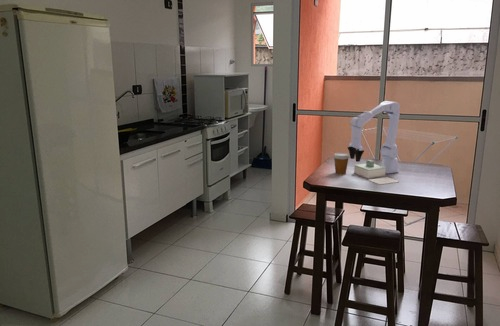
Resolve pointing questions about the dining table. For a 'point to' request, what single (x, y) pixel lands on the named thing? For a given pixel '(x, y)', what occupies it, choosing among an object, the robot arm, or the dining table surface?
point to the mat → (383, 180)
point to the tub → (369, 172)
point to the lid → (370, 166)
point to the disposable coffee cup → (341, 162)
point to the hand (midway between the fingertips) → (355, 160)
